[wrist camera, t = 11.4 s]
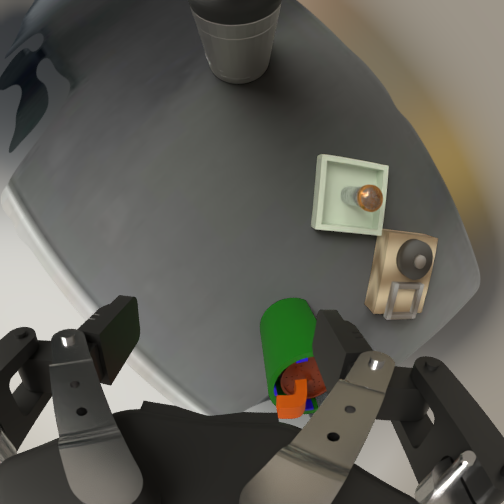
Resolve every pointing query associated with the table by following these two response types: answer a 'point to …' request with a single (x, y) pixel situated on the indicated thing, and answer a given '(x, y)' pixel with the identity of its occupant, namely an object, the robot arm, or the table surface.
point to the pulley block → (400, 274)
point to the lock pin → (363, 197)
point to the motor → (291, 358)
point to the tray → (329, 195)
